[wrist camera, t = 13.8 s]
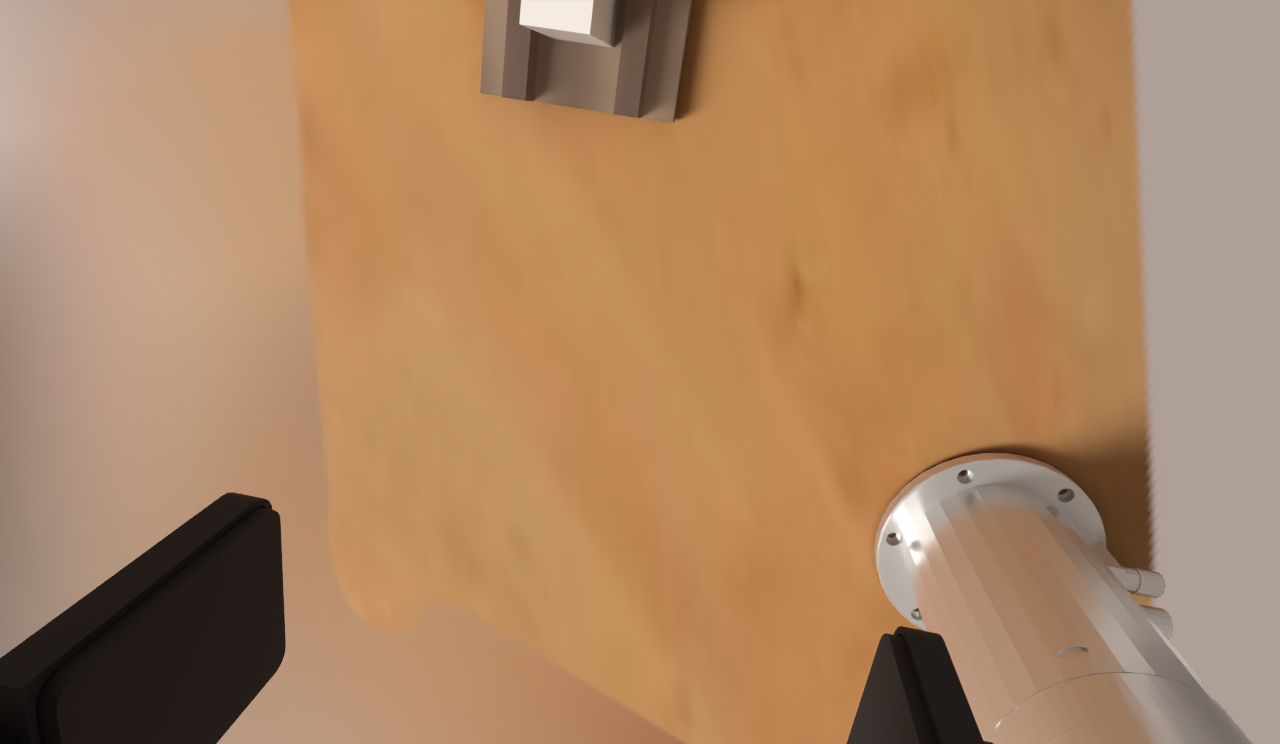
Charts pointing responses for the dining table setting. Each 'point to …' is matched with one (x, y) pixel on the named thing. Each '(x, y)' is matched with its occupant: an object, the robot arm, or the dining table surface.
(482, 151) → the dining table surface
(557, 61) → the walnut rack
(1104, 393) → the dining table surface
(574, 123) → the dining table surface
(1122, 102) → the dining table surface
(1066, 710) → the robot arm
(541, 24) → the white strip
